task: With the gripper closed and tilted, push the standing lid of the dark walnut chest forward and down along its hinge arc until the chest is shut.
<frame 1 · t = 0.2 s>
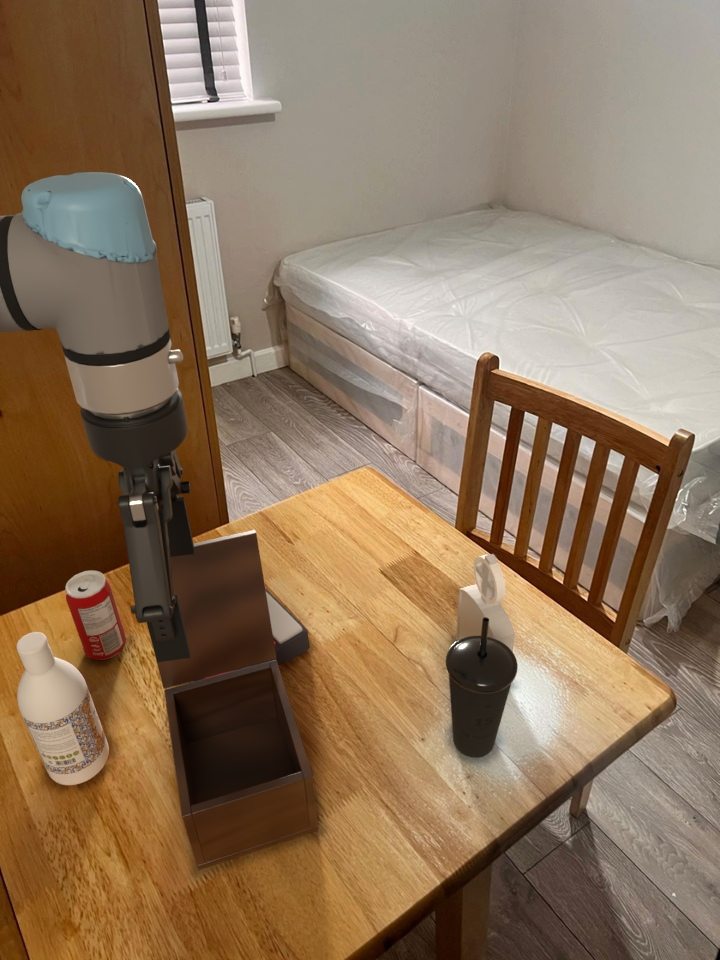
hand: (177, 601, 67), 28 cm above the table, tool pointing down, fingers open, 13 cm apart
soda can: (106, 647, 100), on the table
drinking cup: (473, 741, 86), on the table
bath foam: (79, 761, 85), on the table
gravestone: (480, 663, 96), on the table
chest lid: (208, 610, 79), point 19 cm above the table, hinge at 100.0°
chest: (244, 785, 82), on the table
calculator: (242, 653, 98), on the table
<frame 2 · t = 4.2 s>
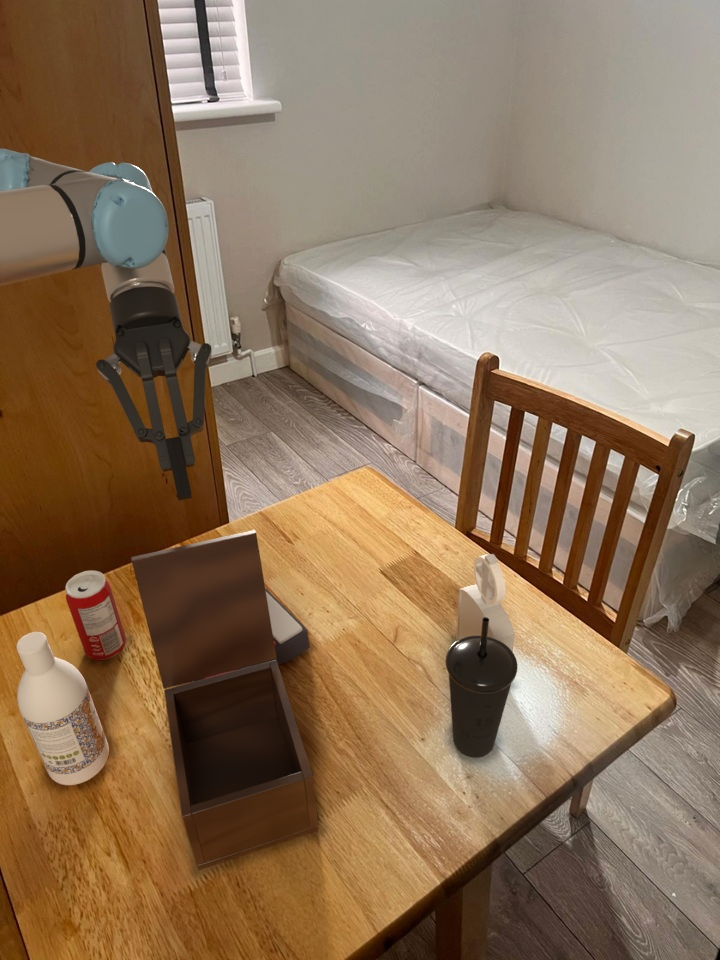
hand: (184, 496, 80), 28 cm above the table, tool tilted 45°, fingers closed
nothing on the table moved.
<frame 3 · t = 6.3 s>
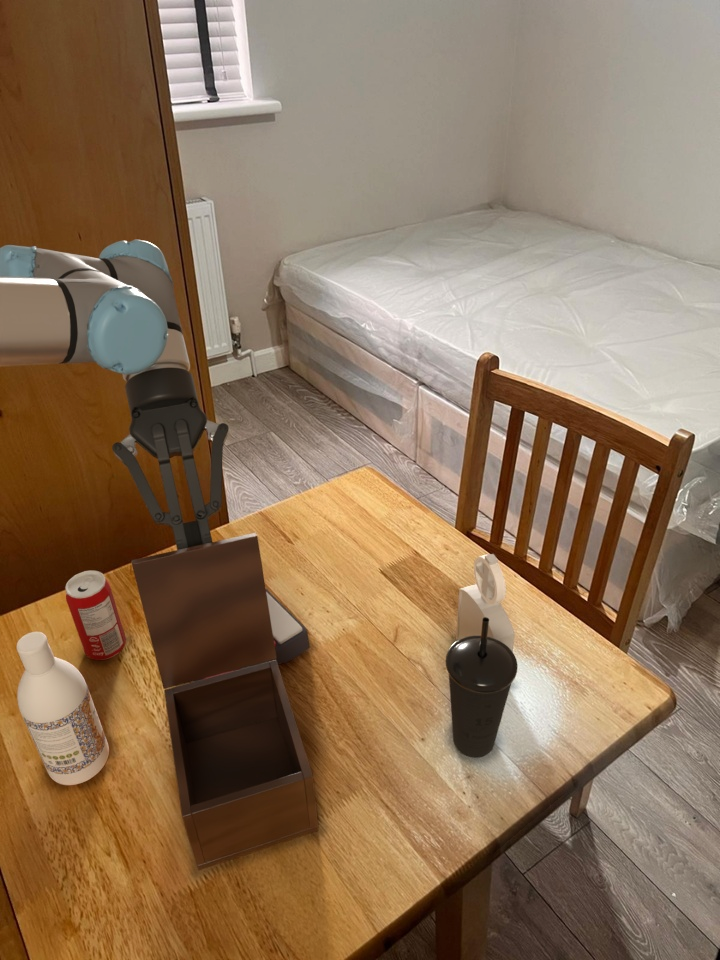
hand: (202, 581, 79), 21 cm above the table, tool tilted 45°, fingers closed
chest lid: (208, 612, 79), point 19 cm above the table, hinge at 97.7°
everything else where it was.
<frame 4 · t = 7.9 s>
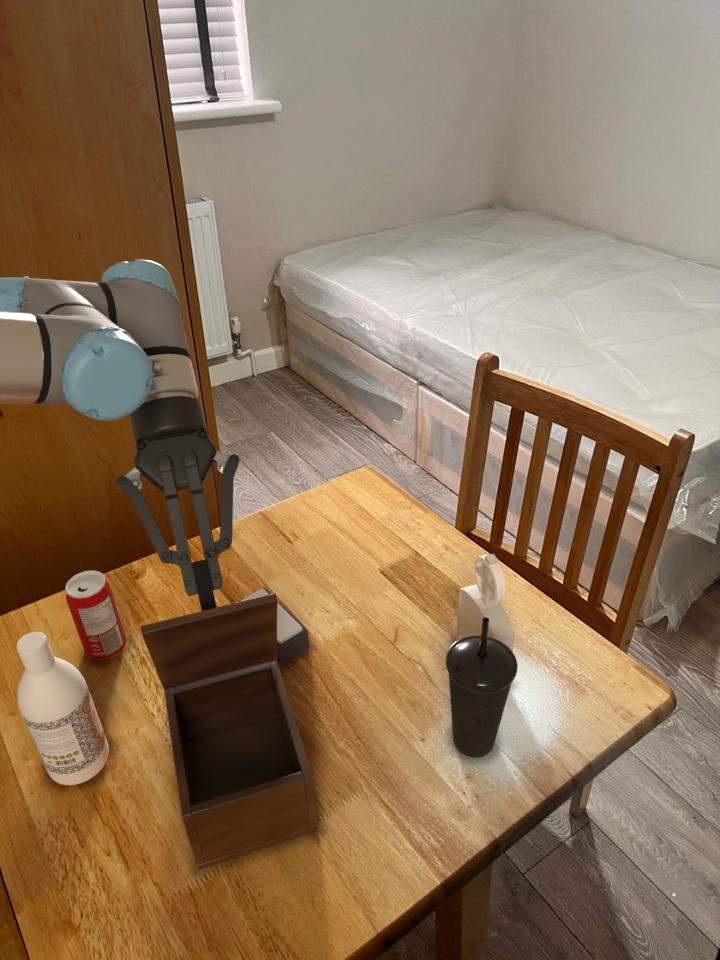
hand: (212, 624, 74), 21 cm above the table, tool tilted 45°, fingers closed
chest lid: (215, 644, 76), point 18 cm above the table, hinge at 67.3°, touching gripper
everything else where it was.
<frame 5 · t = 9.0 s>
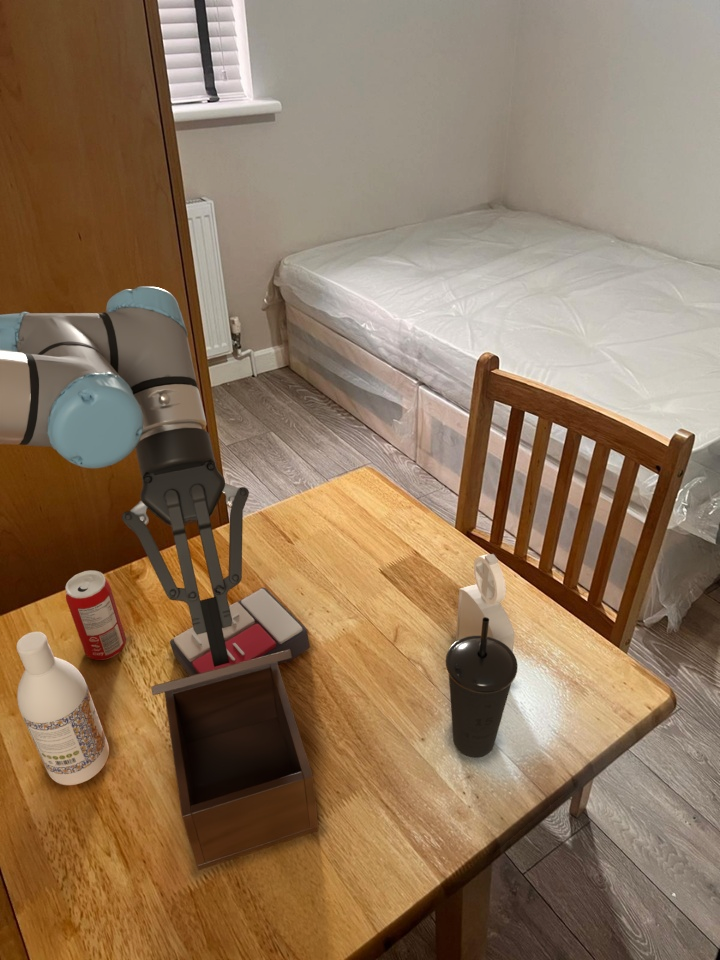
hand: (221, 663, 72), 19 cm above the table, tool tilted 45°, fingers closed
chest lid: (221, 671, 75), point 16 cm above the table, hinge at 47.7°, touching gripper
everything else where it was.
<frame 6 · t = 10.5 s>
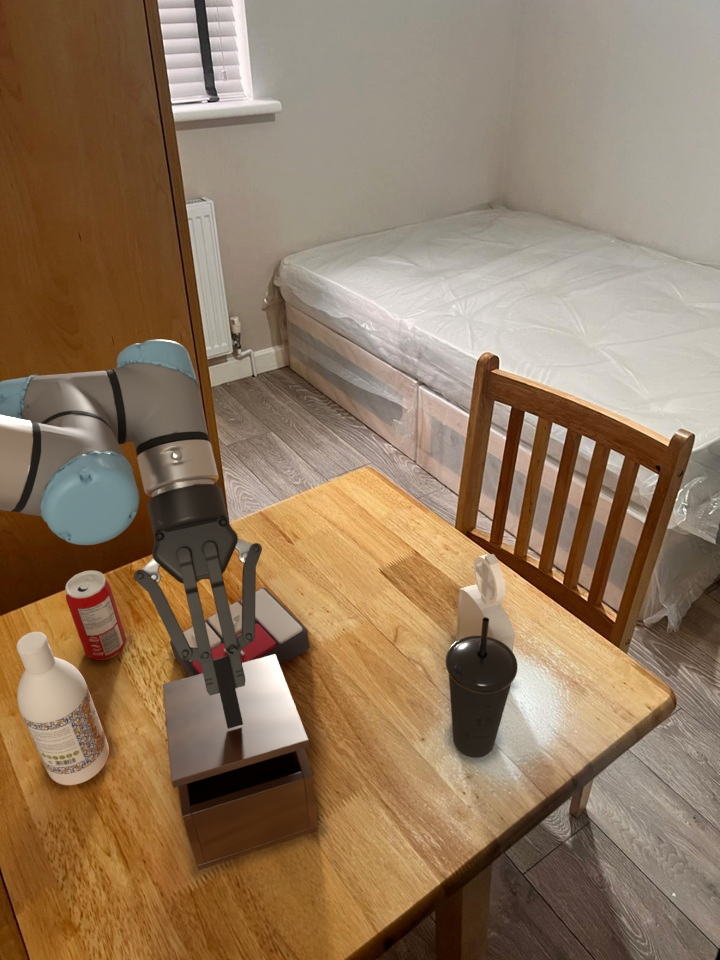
hand: (234, 724, 71), 15 cm above the table, tool tilted 45°, fingers closed
chest lid: (230, 712, 75), point 13 cm above the table, hinge at 17.0°, touching gripper
everything else where it was.
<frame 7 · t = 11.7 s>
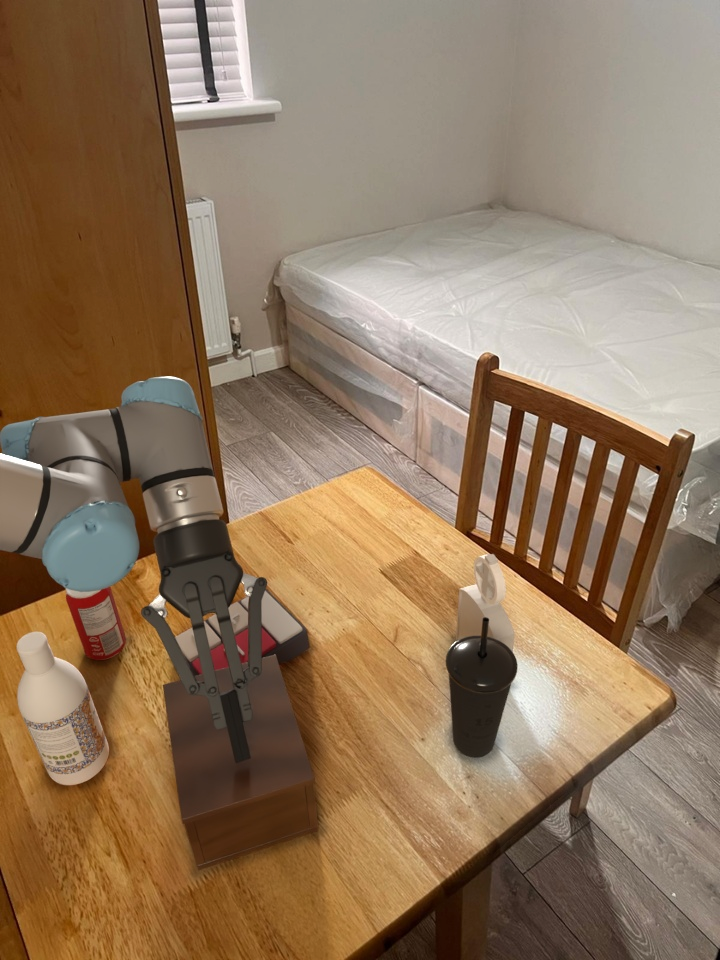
hand: (242, 758, 71), 12 cm above the table, tool tilted 45°, fingers closed
chest lid: (234, 730, 76), point 10 cm above the table, hinge at -0.2°, touching chest, gripper
everything else where it was.
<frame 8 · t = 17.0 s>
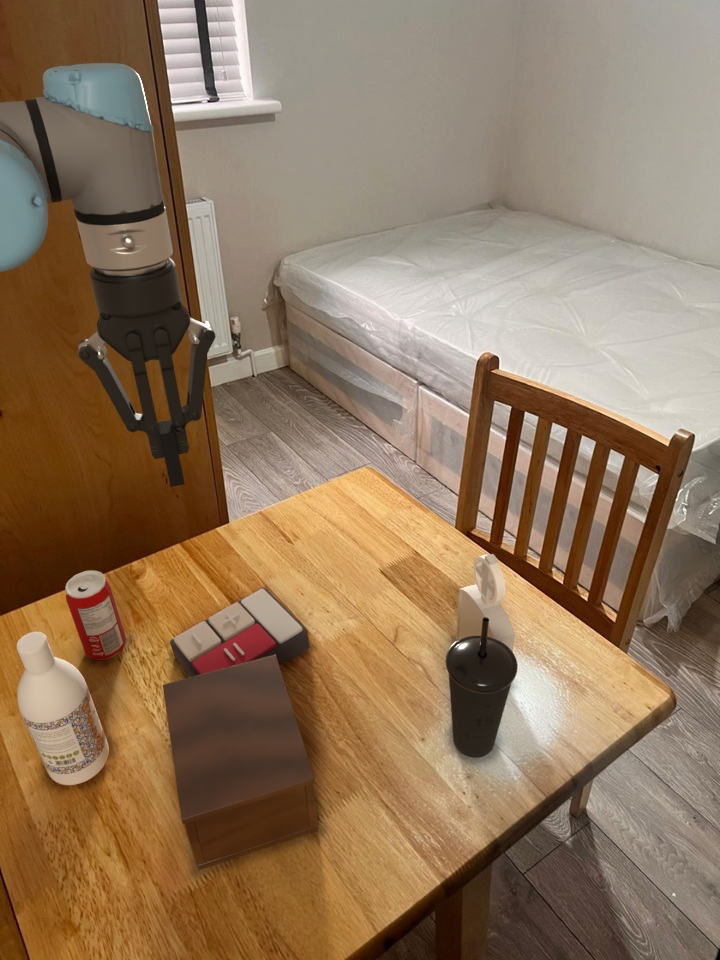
hand: (176, 478, 79), 30 cm above the table, tool pointing down, fingers closed
chest lid: (234, 730, 76), point 10 cm above the table, hinge at -0.2°, touching chest
everything else where it was.
at the end: chest lid at +0° (first picture: +100°) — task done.
